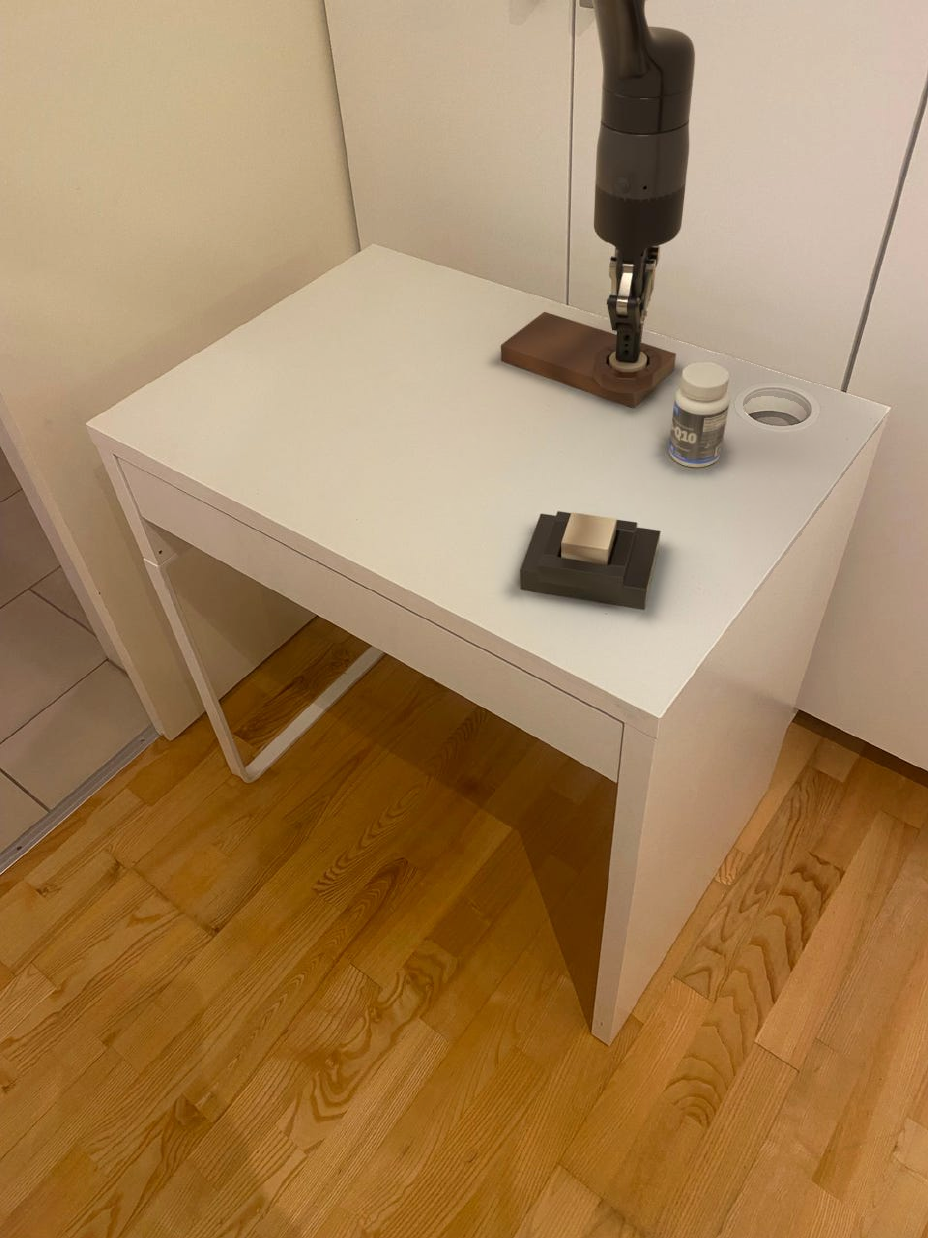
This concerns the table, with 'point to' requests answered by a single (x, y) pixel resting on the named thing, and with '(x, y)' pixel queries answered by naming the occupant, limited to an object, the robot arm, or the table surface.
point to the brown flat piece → (584, 359)
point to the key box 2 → (591, 565)
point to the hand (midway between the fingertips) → (627, 357)
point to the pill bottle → (699, 415)
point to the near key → (588, 538)
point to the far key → (628, 366)
